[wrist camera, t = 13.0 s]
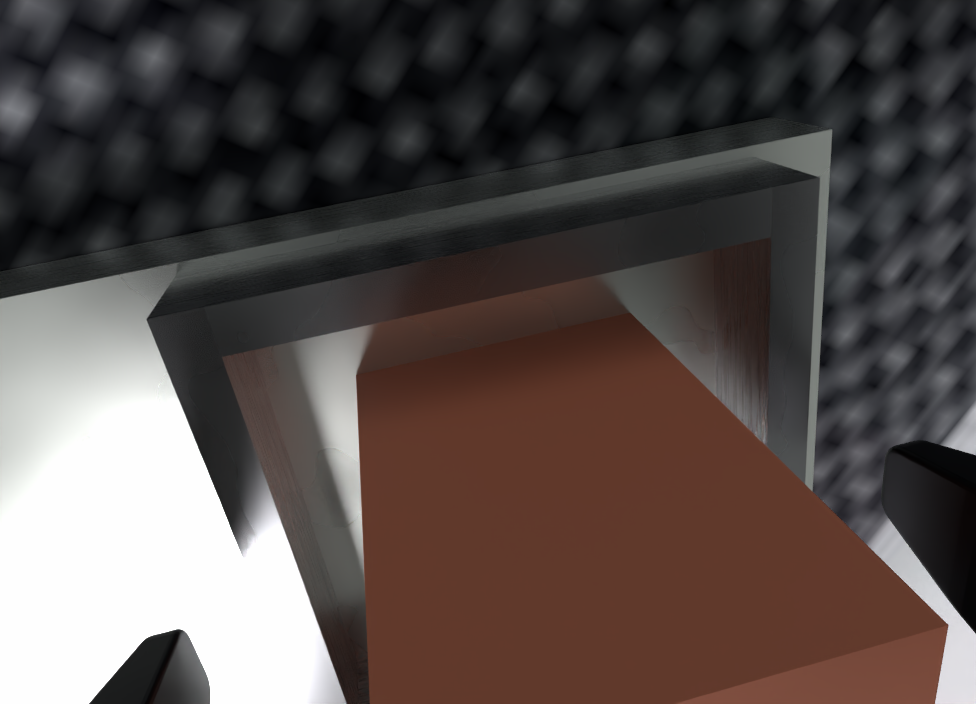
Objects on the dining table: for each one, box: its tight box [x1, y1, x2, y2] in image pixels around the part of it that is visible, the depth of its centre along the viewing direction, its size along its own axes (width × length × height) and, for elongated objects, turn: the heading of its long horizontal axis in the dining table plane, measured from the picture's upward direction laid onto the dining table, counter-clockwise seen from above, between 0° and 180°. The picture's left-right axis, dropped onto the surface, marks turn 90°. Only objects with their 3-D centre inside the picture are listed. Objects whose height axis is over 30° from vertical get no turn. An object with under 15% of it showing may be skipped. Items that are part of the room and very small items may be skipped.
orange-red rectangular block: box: [356, 313, 948, 704], centre depth 8 cm, size 4×4×6 cm
